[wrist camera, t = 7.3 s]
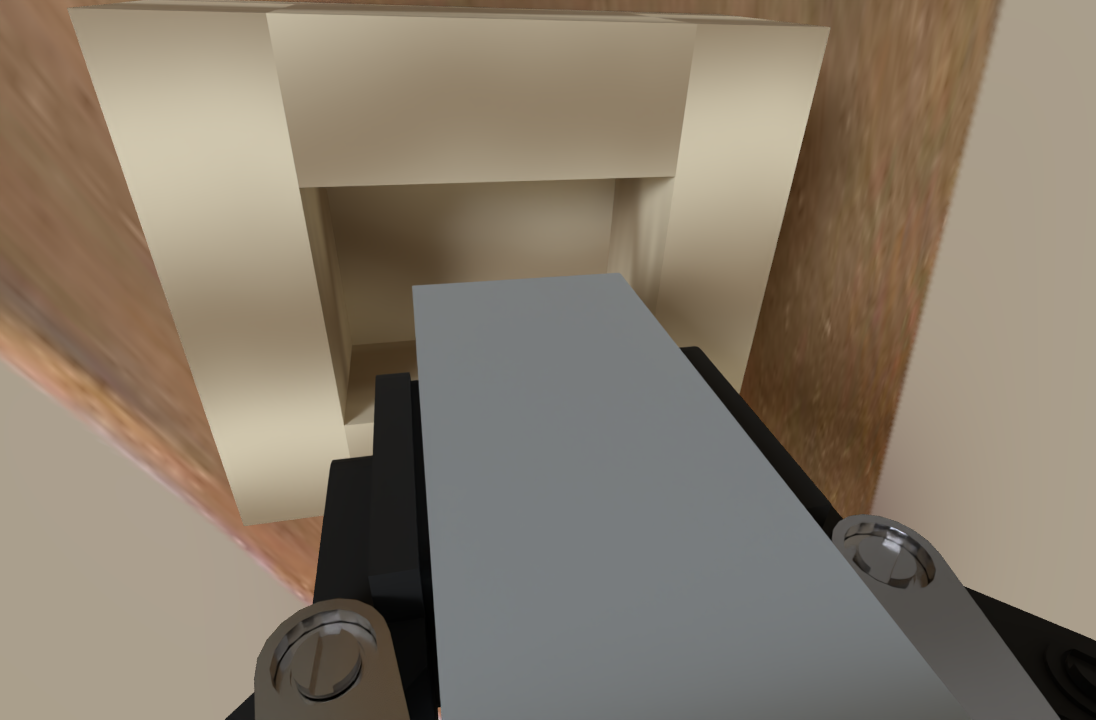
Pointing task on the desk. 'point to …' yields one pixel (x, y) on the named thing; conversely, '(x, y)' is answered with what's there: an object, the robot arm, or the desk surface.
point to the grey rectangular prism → (626, 530)
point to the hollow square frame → (431, 187)
